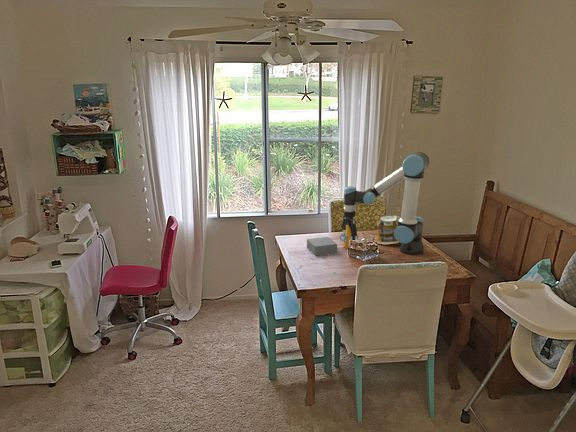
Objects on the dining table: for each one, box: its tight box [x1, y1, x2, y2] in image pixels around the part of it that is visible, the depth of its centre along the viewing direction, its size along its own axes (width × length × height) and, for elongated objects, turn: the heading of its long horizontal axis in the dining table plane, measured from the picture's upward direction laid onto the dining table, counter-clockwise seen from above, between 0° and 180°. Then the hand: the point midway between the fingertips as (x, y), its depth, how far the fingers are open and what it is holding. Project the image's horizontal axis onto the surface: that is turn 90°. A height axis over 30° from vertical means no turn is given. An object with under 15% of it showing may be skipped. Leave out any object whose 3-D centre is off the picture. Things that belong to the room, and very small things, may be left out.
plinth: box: [306, 236, 338, 256], centre depth 318 cm, size 15×15×6 cm
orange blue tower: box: [339, 225, 359, 249], centre depth 323 cm, size 12×10×15 cm
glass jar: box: [374, 215, 401, 245], centre depth 334 cm, size 25×25×17 cm
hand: (348, 242), depth 324 cm, fingers closed on orange blue tower, 12 cm apart
